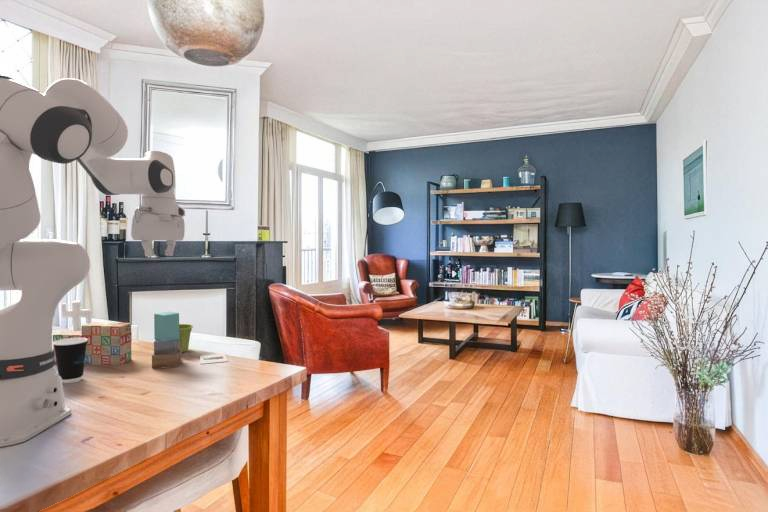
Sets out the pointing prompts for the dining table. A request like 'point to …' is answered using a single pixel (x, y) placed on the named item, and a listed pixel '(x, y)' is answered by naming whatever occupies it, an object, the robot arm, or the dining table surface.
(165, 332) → the teal brick
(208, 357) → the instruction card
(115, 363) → the stack of blocks
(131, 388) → the dining table surface
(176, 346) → the grey-brown block
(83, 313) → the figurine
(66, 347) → the dixie cup
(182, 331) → the plant pot
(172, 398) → the dining table surface
